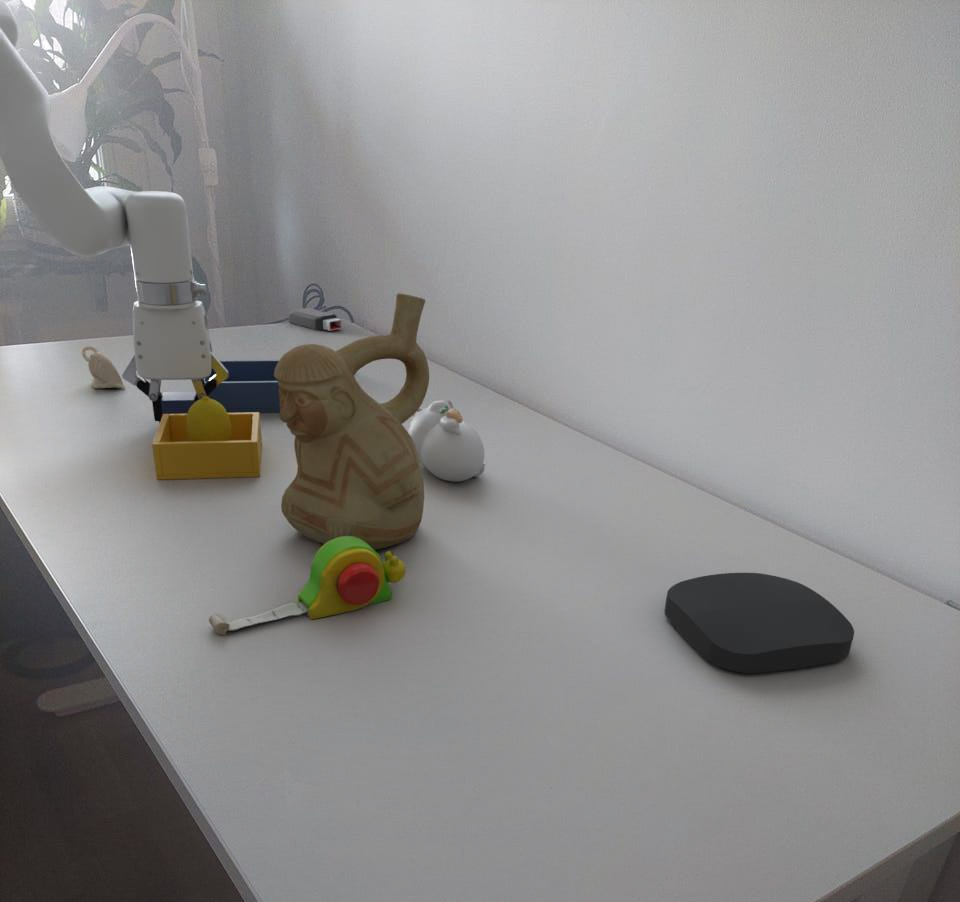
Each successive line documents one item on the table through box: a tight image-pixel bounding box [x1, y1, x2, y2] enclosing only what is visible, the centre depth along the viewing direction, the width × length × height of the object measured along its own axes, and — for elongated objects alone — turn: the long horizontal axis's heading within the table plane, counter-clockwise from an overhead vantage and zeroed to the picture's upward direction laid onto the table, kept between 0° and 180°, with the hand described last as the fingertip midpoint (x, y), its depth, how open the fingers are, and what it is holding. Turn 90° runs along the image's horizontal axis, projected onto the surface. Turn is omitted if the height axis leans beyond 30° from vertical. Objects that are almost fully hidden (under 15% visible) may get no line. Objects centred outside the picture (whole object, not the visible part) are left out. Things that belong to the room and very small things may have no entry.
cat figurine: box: [407, 399, 486, 483], centre depth 125 cm, size 10×8×15 cm
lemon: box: [187, 396, 231, 442], centre depth 125 cm, size 6×6×8 cm
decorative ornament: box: [81, 346, 126, 390], centre depth 155 cm, size 4×8×5 cm, turn 37°
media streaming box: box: [664, 572, 855, 674], centre depth 91 cm, size 15×15×3 cm
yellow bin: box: [151, 412, 263, 481], centre depth 126 cm, size 13×13×5 cm
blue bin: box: [204, 359, 281, 414], centre depth 150 cm, size 14×14×5 cm
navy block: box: [161, 390, 196, 414], centre depth 138 cm, size 4×4×4 cm
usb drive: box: [288, 307, 343, 332], centre depth 198 cm, size 5×12×3 cm, turn 47°
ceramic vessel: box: [274, 292, 430, 551], centre depth 102 cm, size 17×20×25 cm
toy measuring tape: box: [208, 536, 407, 636], centre depth 91 cm, size 6×20×7 cm, turn 120°
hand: (182, 424), depth 139 cm, fingers closed on navy block, 4 cm apart
